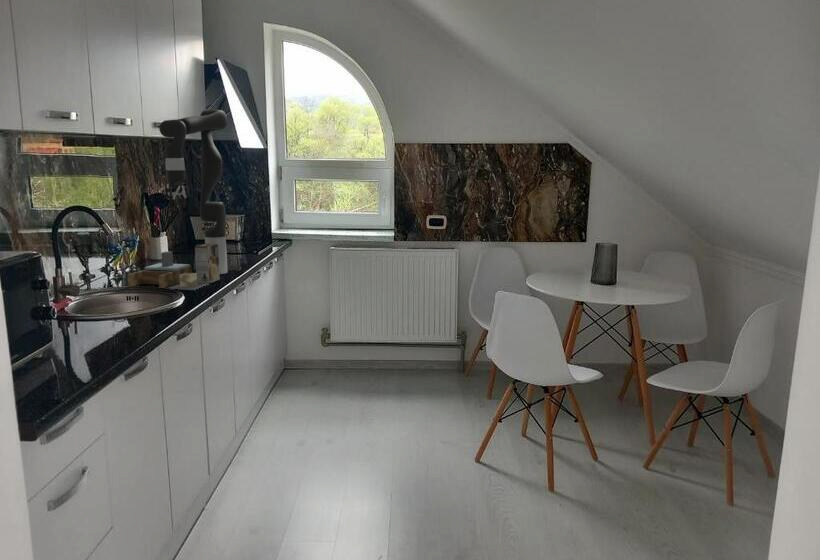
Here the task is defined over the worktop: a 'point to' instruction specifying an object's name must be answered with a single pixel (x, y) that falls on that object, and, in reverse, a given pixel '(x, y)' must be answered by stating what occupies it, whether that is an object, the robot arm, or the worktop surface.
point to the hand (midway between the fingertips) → (177, 207)
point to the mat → (189, 287)
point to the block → (188, 279)
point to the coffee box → (207, 263)
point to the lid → (167, 263)
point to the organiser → (157, 277)
